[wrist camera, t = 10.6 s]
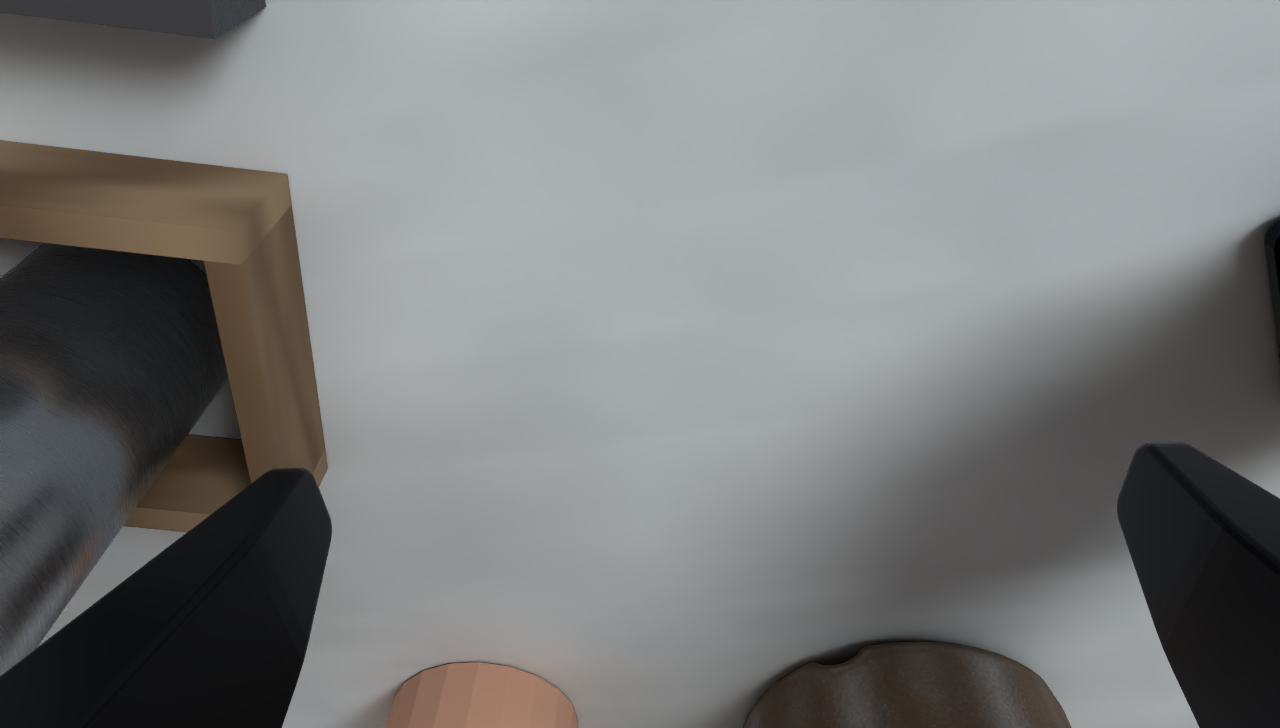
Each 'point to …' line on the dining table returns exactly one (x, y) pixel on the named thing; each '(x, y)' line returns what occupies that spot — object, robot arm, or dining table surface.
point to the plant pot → (911, 692)
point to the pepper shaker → (479, 699)
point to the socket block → (145, 13)
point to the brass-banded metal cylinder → (89, 412)
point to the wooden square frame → (239, 285)
